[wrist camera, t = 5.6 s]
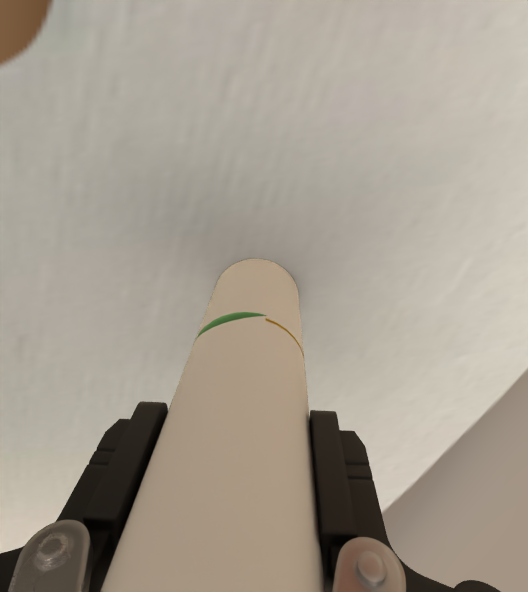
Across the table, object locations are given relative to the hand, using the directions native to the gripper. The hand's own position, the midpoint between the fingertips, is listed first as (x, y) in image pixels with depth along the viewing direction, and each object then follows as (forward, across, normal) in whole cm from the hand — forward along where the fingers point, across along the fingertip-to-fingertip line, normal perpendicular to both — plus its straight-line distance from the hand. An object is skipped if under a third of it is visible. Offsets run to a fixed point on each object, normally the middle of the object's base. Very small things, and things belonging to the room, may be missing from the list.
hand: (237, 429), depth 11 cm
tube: (+9, 0, 0) cm, 9 cm away
